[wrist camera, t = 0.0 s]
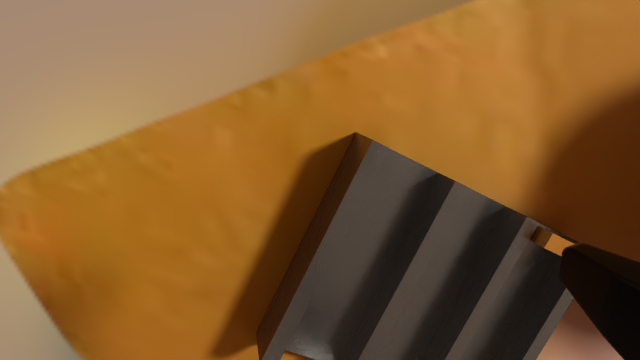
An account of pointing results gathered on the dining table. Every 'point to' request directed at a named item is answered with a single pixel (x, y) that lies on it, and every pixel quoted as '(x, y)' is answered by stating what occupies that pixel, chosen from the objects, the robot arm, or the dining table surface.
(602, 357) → the dining table surface
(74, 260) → the dining table surface
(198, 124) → the dining table surface
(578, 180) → the dining table surface
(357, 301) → the rack
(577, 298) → the robot arm
